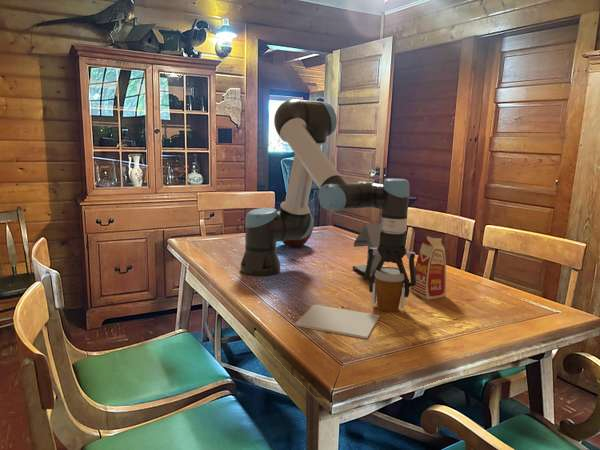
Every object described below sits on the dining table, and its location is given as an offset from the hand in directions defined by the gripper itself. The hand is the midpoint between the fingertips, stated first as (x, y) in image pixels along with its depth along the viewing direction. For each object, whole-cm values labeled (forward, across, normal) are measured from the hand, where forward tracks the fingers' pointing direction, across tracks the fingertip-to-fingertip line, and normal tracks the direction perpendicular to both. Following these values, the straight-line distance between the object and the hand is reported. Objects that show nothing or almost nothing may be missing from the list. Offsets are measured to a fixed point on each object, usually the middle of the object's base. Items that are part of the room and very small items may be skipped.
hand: (388, 304), depth 140 cm
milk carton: (+2, +10, +20) cm, 22 cm away
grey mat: (+1, -11, -16) cm, 19 cm away
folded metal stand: (+2, -11, +32) cm, 34 cm away
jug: (+1, -55, +63) cm, 84 cm away
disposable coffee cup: (+1, 0, 0) cm, 1 cm away
